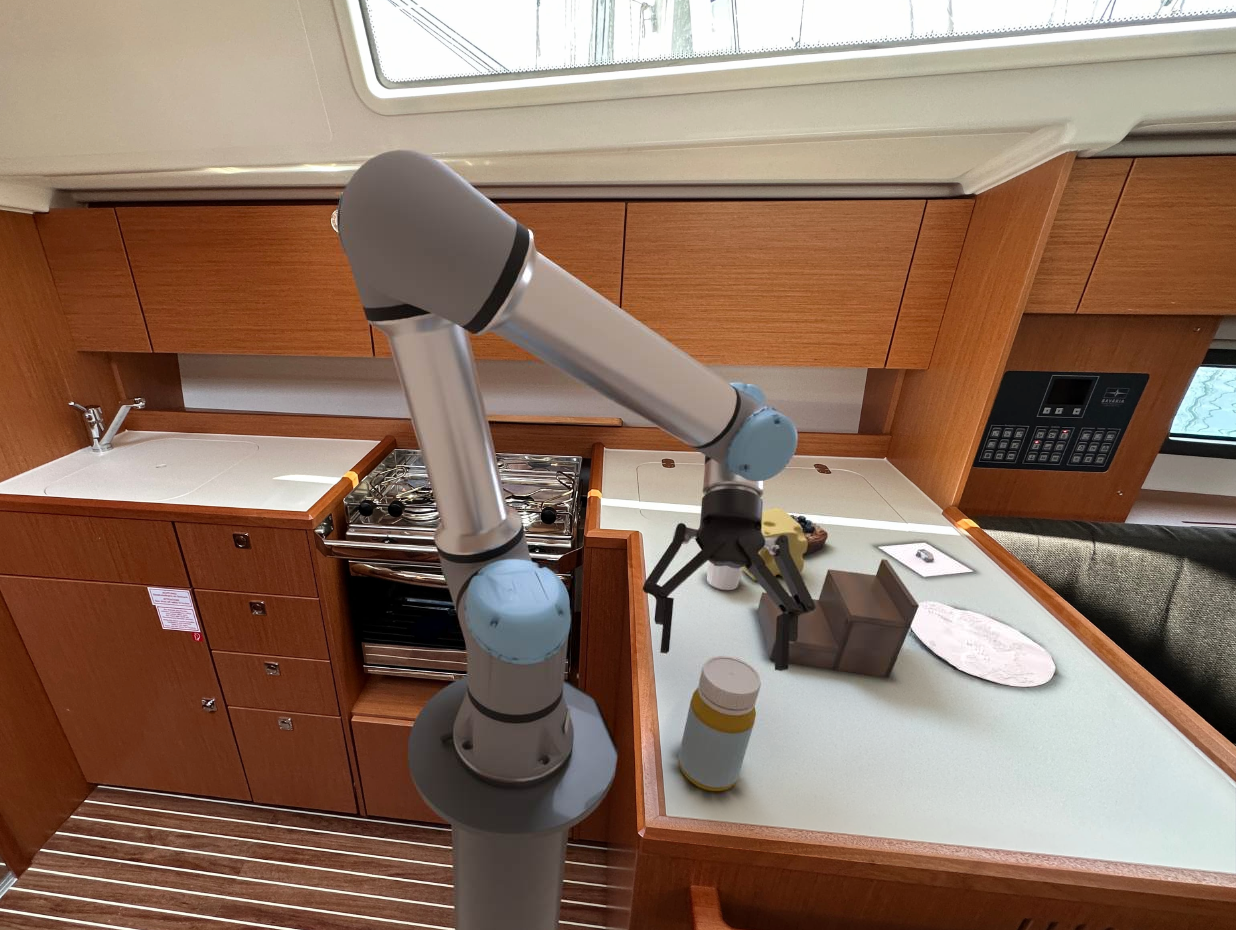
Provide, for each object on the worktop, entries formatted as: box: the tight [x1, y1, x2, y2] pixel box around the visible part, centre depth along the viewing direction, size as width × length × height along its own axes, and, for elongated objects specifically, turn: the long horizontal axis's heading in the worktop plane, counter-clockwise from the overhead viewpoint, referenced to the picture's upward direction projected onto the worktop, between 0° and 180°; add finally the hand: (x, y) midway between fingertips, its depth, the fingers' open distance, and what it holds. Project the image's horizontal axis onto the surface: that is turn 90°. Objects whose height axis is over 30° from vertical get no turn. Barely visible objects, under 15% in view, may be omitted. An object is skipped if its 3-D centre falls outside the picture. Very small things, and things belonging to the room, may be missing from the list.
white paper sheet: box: [878, 542, 974, 578], centre depth 119 cm, size 12×12×2 cm
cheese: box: [743, 507, 807, 582], centre depth 112 cm, size 10×11×10 cm
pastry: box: [789, 514, 829, 558], centre depth 123 cm, size 11×12×6 cm
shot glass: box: [706, 561, 745, 591], centre depth 107 cm, size 7×7×7 cm
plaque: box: [910, 601, 1056, 688], centre depth 95 cm, size 20×20×2 cm
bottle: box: [678, 655, 762, 792], centre depth 67 cm, size 7×7×15 cm
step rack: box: [756, 558, 919, 679], centre depth 91 cm, size 17×13×13 cm
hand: (722, 661), depth 70 cm, fingers open, 13 cm apart
